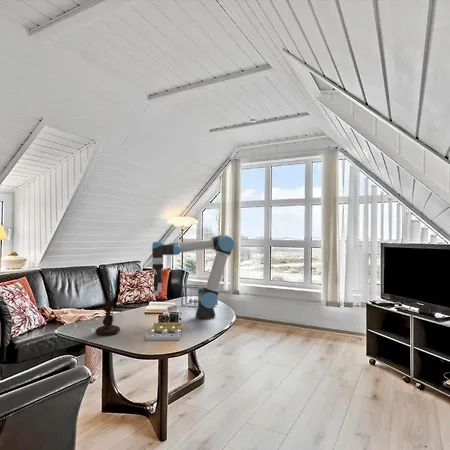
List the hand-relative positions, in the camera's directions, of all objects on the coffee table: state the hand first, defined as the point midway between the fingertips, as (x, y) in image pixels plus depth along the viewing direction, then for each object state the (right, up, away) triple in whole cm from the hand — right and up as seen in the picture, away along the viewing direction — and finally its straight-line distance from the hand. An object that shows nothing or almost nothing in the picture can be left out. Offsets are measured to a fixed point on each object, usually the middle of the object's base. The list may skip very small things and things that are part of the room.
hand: (157, 293), depth 249 cm
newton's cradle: (+25, -23, +58) cm, 67 cm away
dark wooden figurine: (-28, -21, -23) cm, 42 cm away
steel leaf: (+10, -21, -32) cm, 39 cm away
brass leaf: (+9, -21, -18) cm, 29 cm away
